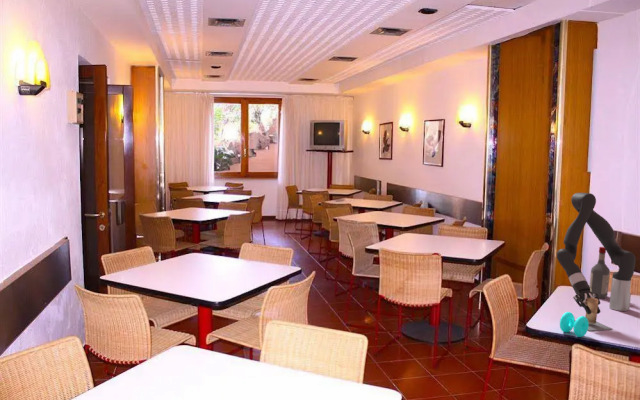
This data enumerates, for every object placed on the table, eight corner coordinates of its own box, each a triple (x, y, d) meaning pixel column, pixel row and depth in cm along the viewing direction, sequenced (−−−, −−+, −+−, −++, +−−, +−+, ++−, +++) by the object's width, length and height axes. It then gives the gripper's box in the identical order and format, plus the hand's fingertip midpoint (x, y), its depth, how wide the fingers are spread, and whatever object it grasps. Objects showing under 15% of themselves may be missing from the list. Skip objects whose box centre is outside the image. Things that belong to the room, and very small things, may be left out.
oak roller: (590, 320, 280) (593, 297, 278) (598, 323, 275) (600, 300, 273) (582, 320, 278) (585, 297, 277) (590, 323, 273) (592, 300, 272)
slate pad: (591, 320, 285) (591, 319, 285) (612, 329, 272) (612, 328, 272) (568, 321, 281) (568, 320, 281) (589, 331, 268) (589, 330, 268)
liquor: (608, 296, 331) (613, 247, 328) (603, 299, 325) (609, 249, 321) (591, 293, 337) (596, 245, 334) (587, 296, 330) (592, 247, 327)
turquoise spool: (577, 339, 256) (579, 319, 255) (557, 332, 264) (559, 313, 263) (588, 335, 262) (590, 315, 261) (568, 329, 270) (570, 309, 269)
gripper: (571, 280, 279) (586, 310, 269) (595, 279, 283) (610, 309, 273) (563, 287, 285) (578, 317, 275) (586, 286, 289) (601, 316, 279)
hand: (594, 313), depth 274 cm, fingers closed on oak roller, 5 cm apart
